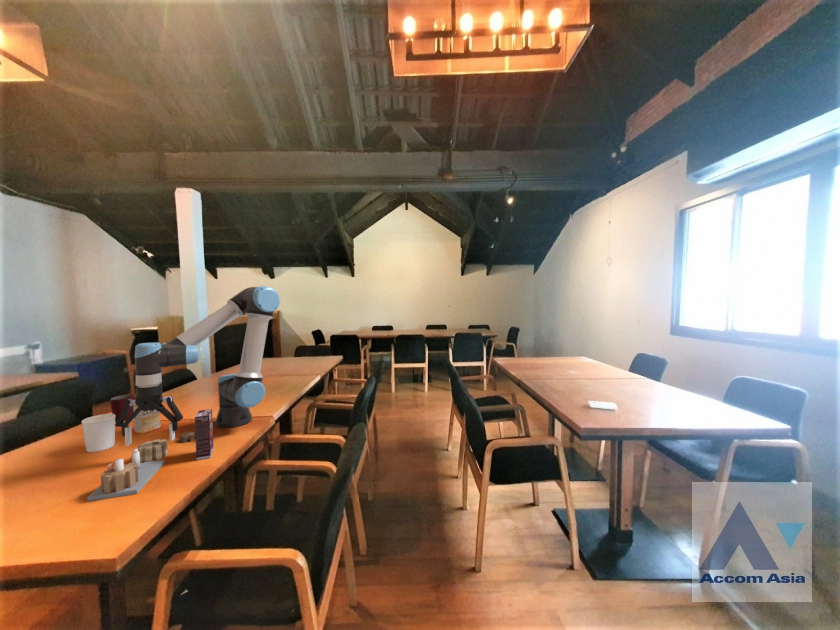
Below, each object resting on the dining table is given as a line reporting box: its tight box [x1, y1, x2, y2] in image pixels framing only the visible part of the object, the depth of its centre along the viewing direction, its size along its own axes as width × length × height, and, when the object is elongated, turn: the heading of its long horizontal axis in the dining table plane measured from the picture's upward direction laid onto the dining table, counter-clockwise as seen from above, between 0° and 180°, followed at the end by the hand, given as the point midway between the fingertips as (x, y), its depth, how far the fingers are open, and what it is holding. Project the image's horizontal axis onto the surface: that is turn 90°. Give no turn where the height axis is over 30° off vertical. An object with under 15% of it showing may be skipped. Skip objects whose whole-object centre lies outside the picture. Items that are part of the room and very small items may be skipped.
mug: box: [109, 394, 136, 423], centre depth 168 cm, size 12×9×11 cm
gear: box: [178, 430, 196, 444], centre depth 142 cm, size 6×6×2 cm
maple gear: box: [137, 438, 169, 463], centre depth 126 cm, size 8×8×5 cm
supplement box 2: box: [194, 408, 215, 461], centre depth 128 cm, size 9×5×16 cm, turn 25°
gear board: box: [86, 448, 165, 502], centre depth 110 cm, size 12×20×9 cm, turn 17°
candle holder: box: [81, 413, 116, 453], centre depth 135 cm, size 10×10×12 cm
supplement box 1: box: [133, 403, 161, 435], centre depth 152 cm, size 8×5×13 cm, turn 161°
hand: (150, 442), depth 126 cm, fingers open, 13 cm apart
